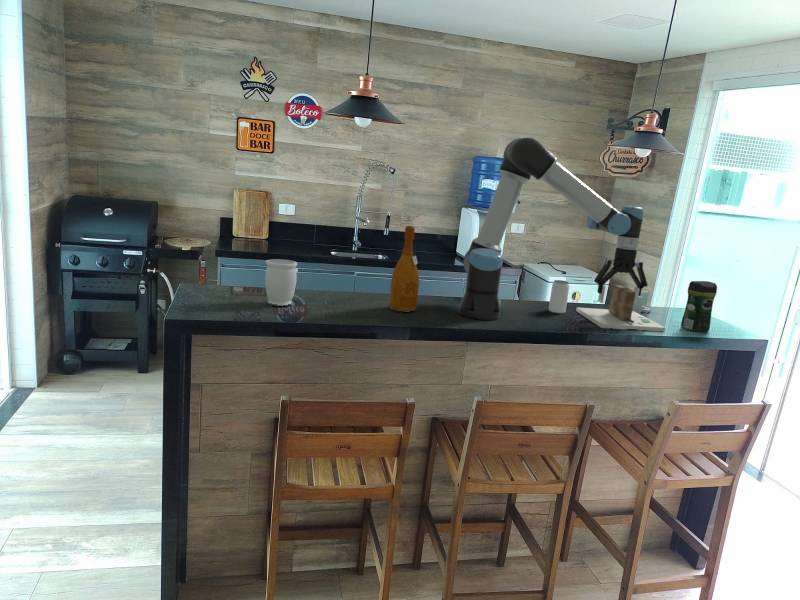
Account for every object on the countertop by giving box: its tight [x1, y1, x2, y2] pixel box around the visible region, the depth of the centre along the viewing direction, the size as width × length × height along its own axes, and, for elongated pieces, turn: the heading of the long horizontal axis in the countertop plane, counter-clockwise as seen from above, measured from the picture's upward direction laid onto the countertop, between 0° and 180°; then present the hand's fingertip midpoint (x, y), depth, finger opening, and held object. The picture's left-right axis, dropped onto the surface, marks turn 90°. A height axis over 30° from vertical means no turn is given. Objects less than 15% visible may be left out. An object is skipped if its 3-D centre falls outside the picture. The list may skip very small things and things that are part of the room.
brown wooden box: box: [608, 284, 635, 323], centre depth 221 cm, size 17×3×11 cm, turn 5°
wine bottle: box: [389, 225, 420, 312], centre depth 209 cm, size 10×10×30 cm
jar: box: [264, 258, 298, 305], centre depth 203 cm, size 11×10×15 cm
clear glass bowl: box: [632, 290, 651, 314], centre depth 246 cm, size 12×12×8 cm
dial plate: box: [575, 306, 666, 332], centre depth 225 cm, size 24×24×2 cm
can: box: [548, 279, 570, 314], centre depth 230 cm, size 6×6×12 cm
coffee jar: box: [680, 280, 718, 333], centre depth 220 cm, size 10×8×19 cm
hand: (617, 303), depth 227 cm, fingers open, 13 cm apart
